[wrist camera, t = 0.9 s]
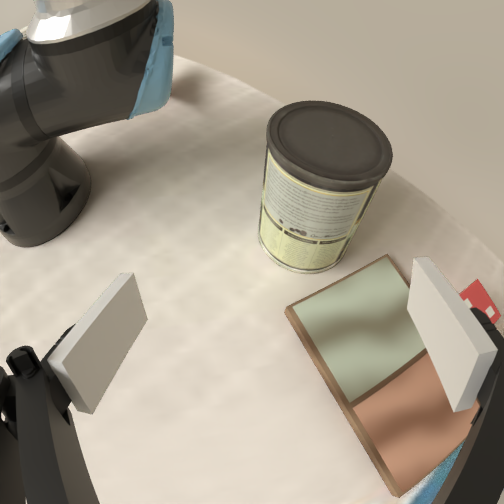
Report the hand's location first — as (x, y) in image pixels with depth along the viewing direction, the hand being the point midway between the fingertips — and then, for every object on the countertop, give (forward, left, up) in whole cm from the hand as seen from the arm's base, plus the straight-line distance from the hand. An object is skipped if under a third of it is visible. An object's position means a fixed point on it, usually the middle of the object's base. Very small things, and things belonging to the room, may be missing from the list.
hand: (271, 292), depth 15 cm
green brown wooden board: (+8, +11, -16) cm, 21 cm away
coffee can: (-10, +11, -17) cm, 23 cm away
